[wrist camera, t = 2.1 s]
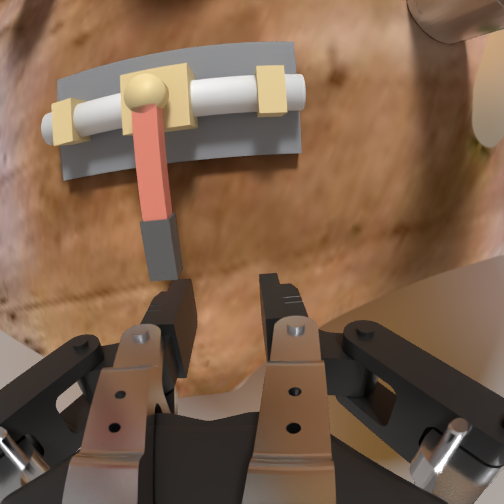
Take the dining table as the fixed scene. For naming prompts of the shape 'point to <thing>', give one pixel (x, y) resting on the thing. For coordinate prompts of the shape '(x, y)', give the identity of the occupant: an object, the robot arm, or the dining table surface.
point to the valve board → (210, 126)
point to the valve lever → (153, 176)
